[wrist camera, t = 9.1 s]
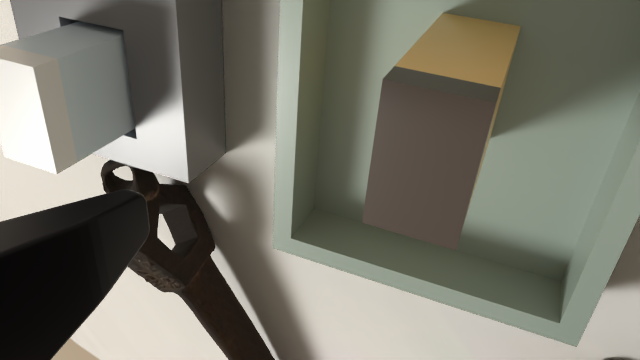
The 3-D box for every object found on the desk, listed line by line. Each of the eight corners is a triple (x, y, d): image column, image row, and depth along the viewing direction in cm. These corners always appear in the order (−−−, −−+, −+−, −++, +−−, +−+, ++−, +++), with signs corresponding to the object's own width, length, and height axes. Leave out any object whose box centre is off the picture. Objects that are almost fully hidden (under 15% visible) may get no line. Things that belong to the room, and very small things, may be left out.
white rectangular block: (166, 18, 22) (32, 67, 17) (173, 105, 25) (56, 174, 19) (119, 9, 23) (-25, 52, 18) (129, 94, 25) (4, 157, 20)
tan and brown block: (520, 26, 17) (496, 103, 11) (490, 138, 19) (456, 250, 13) (442, 12, 17) (382, 79, 12) (421, 122, 20) (362, 222, 14)
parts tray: (792, -197, 13) (843, -213, 10) (576, 293, 21) (576, 347, 19) (328, -216, 16) (286, -232, 14) (301, 211, 25) (272, 248, 22)
